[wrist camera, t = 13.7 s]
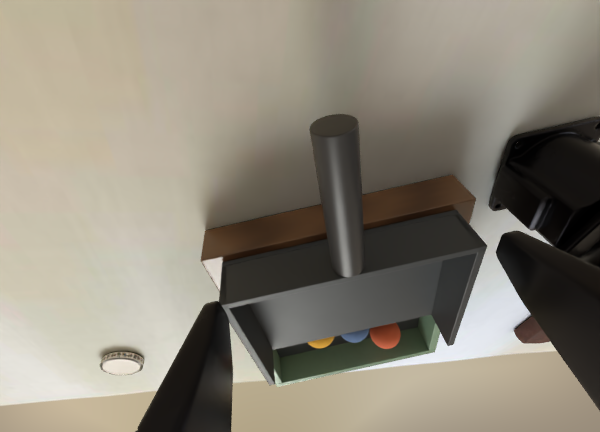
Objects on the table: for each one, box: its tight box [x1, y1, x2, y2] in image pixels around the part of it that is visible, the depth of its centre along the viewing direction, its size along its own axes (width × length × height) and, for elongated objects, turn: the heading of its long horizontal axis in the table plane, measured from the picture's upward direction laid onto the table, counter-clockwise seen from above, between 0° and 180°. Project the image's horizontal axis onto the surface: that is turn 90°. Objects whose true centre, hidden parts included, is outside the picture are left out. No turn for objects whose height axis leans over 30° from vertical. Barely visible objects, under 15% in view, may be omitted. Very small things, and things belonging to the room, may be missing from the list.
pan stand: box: [201, 175, 476, 292], centre depth 25 cm, size 19×13×3 cm
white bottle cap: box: [100, 352, 144, 375], centre depth 32 cm, size 4×4×1 cm
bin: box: [273, 315, 440, 387], centre depth 33 cm, size 19×10×3 cm, turn 100°
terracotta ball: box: [370, 323, 401, 349], centre depth 33 cm, size 3×3×3 cm
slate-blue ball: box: [341, 329, 369, 343], centre depth 31 cm, size 3×3×3 cm
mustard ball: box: [307, 336, 334, 348], centre depth 31 cm, size 3×3×3 cm
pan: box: [219, 114, 487, 385], centre depth 20 cm, size 22×16×4 cm
